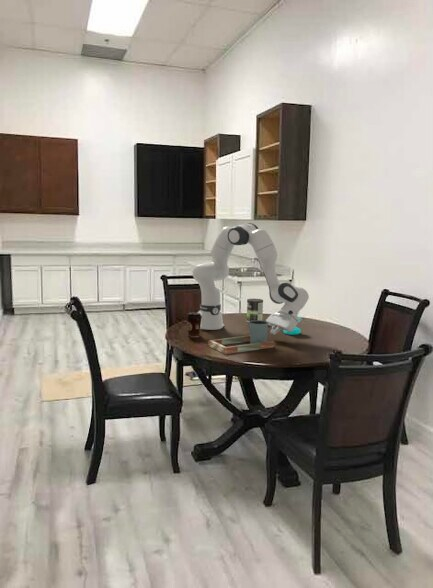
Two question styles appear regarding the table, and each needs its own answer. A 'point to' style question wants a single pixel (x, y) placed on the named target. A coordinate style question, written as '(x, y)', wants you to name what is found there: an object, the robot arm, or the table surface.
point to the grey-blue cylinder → (258, 331)
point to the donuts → (295, 331)
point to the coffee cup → (193, 324)
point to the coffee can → (254, 309)
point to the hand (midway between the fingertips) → (272, 333)
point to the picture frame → (219, 344)
